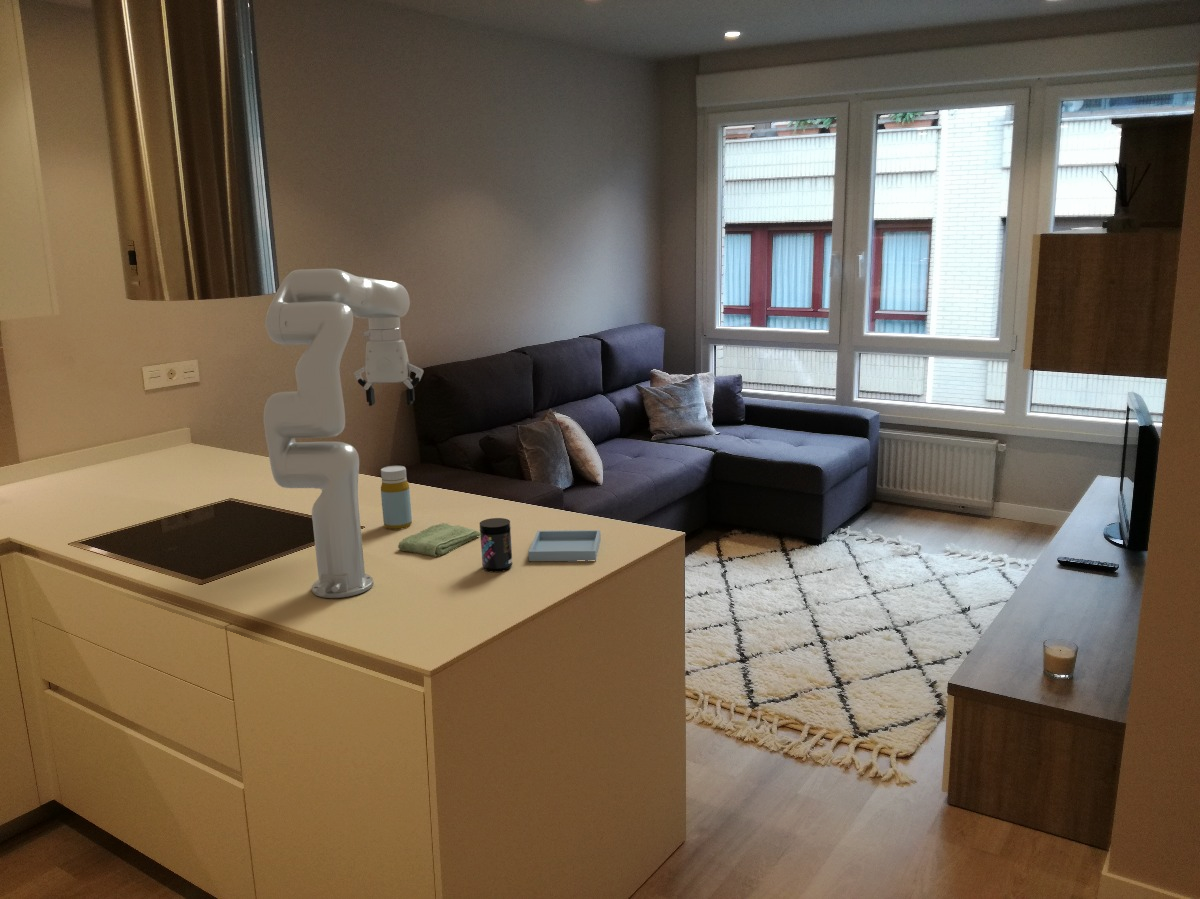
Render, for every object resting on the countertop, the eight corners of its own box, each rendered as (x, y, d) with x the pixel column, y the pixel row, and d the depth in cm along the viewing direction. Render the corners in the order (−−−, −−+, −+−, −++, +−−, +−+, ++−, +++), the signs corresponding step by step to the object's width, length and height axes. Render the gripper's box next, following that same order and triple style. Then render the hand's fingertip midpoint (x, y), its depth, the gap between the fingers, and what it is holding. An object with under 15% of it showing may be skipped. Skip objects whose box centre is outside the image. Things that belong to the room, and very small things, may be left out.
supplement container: (486, 562, 222) (483, 517, 220) (515, 562, 222) (513, 517, 219) (479, 572, 216) (476, 527, 214) (509, 573, 215) (506, 527, 213)
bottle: (405, 530, 247) (401, 472, 244) (379, 529, 249) (374, 472, 245) (416, 522, 254) (411, 465, 250) (390, 521, 255) (385, 465, 252)
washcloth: (483, 537, 241) (483, 525, 240) (438, 560, 226) (437, 546, 225) (441, 531, 247) (440, 518, 247) (394, 552, 232) (393, 539, 232)
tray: (595, 561, 220) (595, 551, 220) (529, 561, 222) (528, 551, 221) (600, 539, 235) (600, 530, 234) (538, 540, 236) (537, 530, 236)
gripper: (345, 338, 239) (352, 408, 243) (416, 336, 238) (422, 406, 242) (355, 334, 246) (361, 402, 250) (423, 332, 245) (428, 400, 249)
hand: (391, 404), depth 246 cm, fingers open, 9 cm apart
